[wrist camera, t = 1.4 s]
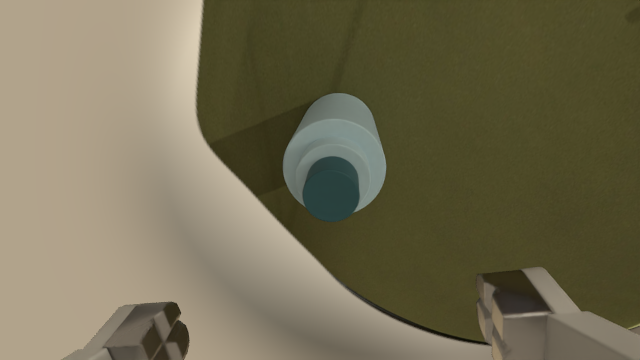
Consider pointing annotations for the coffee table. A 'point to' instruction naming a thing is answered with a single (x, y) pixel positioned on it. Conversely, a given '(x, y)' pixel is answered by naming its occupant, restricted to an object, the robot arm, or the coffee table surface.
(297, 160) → the bottle
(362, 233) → the coffee table surface
